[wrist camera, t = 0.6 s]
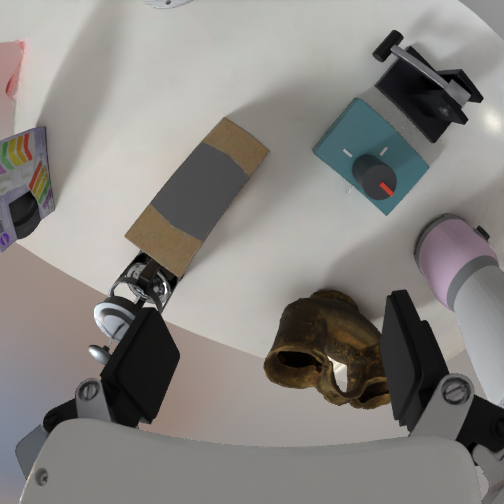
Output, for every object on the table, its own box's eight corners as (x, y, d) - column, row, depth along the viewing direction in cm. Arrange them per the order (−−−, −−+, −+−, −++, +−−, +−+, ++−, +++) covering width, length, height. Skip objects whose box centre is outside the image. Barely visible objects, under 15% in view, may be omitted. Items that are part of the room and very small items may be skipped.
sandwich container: (272, 151, 38) (262, 178, 25) (211, 225, 45) (180, 280, 32) (223, 115, 36) (187, 123, 23) (169, 194, 43) (121, 237, 30)
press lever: (373, 58, 26) (370, 50, 24) (393, 35, 23) (391, 26, 21) (453, 120, 23) (456, 115, 21) (472, 94, 21) (476, 88, 19)
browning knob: (345, 171, 35) (355, 185, 30) (365, 147, 33) (379, 157, 27) (368, 191, 36) (381, 208, 30) (388, 168, 34) (404, 182, 28)
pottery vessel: (395, 315, 50) (421, 398, 33) (361, 347, 55) (374, 428, 38) (290, 261, 47) (288, 356, 30) (260, 304, 52) (245, 395, 35)
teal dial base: (306, 156, 38) (307, 161, 35) (354, 97, 32) (360, 97, 29) (375, 214, 40) (381, 222, 38) (421, 162, 35) (430, 167, 32)
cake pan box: (57, 215, 48) (0, 259, 33) (43, 213, 48) (-12, 254, 33) (48, 125, 38) (-23, 150, 23) (33, 127, 38) (-34, 152, 23)
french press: (173, 294, 54) (125, 389, 34) (132, 270, 52) (71, 356, 32) (196, 252, 48) (141, 355, 28) (150, 224, 46) (73, 312, 27)
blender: (439, 283, 45) (506, 427, 17) (399, 256, 43) (473, 427, 16) (487, 220, 37) (592, 342, 10) (452, 183, 35) (589, 312, 8)
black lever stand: (374, 85, 31) (406, 81, 21) (407, 46, 26) (446, 33, 16) (430, 142, 33) (472, 160, 23) (460, 104, 29) (506, 113, 19)
